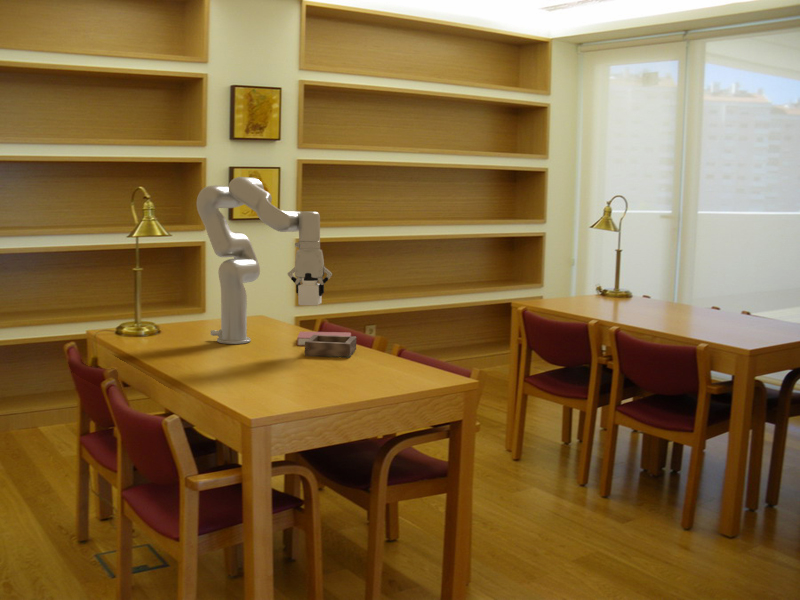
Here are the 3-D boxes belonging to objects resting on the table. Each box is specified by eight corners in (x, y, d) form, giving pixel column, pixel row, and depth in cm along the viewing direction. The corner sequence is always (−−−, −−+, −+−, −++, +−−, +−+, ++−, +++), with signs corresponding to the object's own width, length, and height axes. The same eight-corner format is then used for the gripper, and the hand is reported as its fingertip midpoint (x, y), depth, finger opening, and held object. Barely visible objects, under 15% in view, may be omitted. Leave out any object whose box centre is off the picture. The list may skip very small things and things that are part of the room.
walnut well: (304, 355, 295) (304, 342, 294) (313, 347, 310) (313, 334, 310) (349, 358, 293) (349, 343, 293) (356, 349, 309) (356, 336, 308)
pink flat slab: (297, 345, 314) (297, 337, 314) (299, 339, 329) (299, 331, 328) (350, 346, 315) (350, 338, 315) (350, 340, 330) (350, 332, 329)
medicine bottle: (321, 303, 304) (321, 270, 303) (317, 305, 297) (317, 271, 296) (302, 303, 305) (302, 270, 304) (298, 305, 298) (297, 271, 297)
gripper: (283, 246, 296) (283, 296, 298) (331, 246, 294) (332, 296, 296) (288, 245, 303) (288, 294, 305) (335, 245, 302) (335, 294, 303)
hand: (310, 295), depth 301 cm, fingers closed on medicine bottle, 7 cm apart
